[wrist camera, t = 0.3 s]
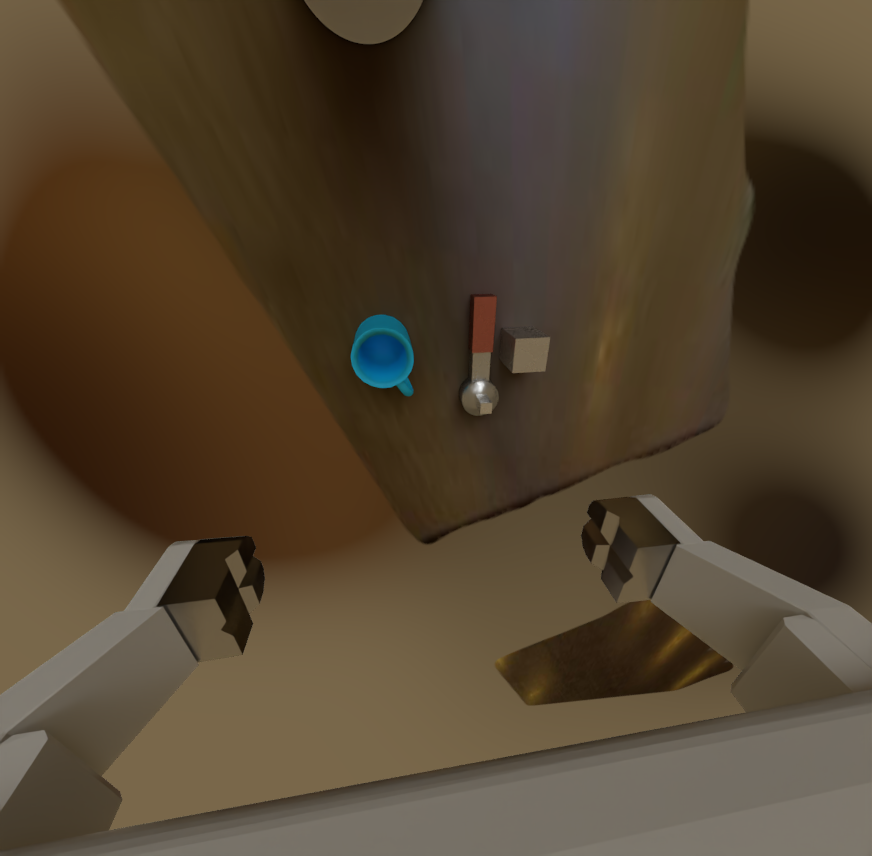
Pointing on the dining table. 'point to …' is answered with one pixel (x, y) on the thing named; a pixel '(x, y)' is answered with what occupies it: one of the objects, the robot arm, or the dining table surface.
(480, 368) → the ratchet
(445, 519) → the dining table surface
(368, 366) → the mug
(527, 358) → the brushed steel block
